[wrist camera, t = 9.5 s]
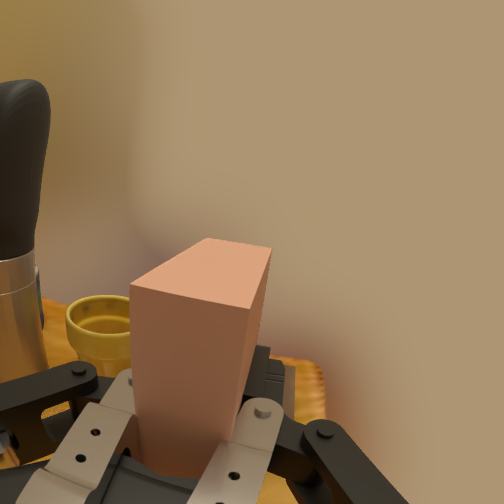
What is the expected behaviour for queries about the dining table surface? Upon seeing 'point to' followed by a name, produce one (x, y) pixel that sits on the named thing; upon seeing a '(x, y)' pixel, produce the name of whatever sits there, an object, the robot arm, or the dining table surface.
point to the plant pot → (101, 332)
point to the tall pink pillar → (194, 350)
